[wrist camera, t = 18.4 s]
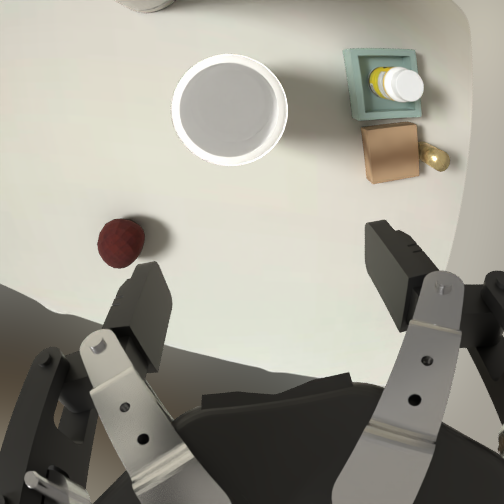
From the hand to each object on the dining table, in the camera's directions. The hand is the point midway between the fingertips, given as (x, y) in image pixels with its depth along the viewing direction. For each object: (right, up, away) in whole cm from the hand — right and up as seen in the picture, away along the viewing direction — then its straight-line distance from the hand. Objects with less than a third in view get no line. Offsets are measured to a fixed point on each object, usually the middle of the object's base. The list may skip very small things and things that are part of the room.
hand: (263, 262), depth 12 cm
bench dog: (+26, +16, +30) cm, 43 cm away
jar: (-3, +21, +26) cm, 34 cm away
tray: (+18, +24, +25) cm, 39 cm away
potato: (-21, +4, +36) cm, 42 cm away
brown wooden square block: (+20, +16, +31) cm, 40 cm away
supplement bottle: (+18, +24, +24) cm, 39 cm away
